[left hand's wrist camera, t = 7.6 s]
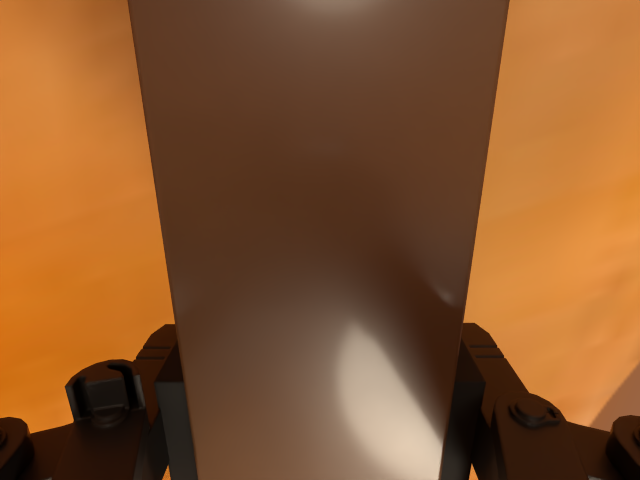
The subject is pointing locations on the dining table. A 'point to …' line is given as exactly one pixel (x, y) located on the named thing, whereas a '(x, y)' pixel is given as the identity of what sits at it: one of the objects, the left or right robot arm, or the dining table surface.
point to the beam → (318, 222)
